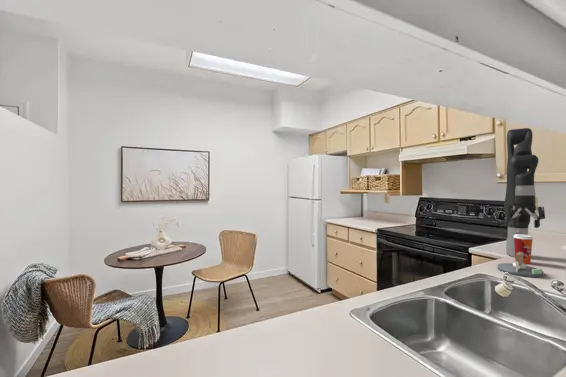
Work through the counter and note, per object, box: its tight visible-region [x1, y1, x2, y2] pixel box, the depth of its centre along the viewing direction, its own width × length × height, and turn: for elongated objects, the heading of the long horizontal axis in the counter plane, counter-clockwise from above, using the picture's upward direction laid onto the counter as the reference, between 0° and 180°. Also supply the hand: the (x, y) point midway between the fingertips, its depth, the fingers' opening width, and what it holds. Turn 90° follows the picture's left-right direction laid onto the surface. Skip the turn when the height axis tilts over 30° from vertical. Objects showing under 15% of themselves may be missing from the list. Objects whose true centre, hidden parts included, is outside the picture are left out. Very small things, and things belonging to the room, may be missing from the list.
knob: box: [512, 252, 527, 270], centre depth 130 cm, size 10×5×7 cm, turn 130°
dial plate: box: [496, 262, 544, 279], centre depth 131 cm, size 17×17×4 cm
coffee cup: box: [513, 234, 534, 265], centre depth 146 cm, size 8×8×15 cm
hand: (526, 226), depth 134 cm, fingers open, 8 cm apart
